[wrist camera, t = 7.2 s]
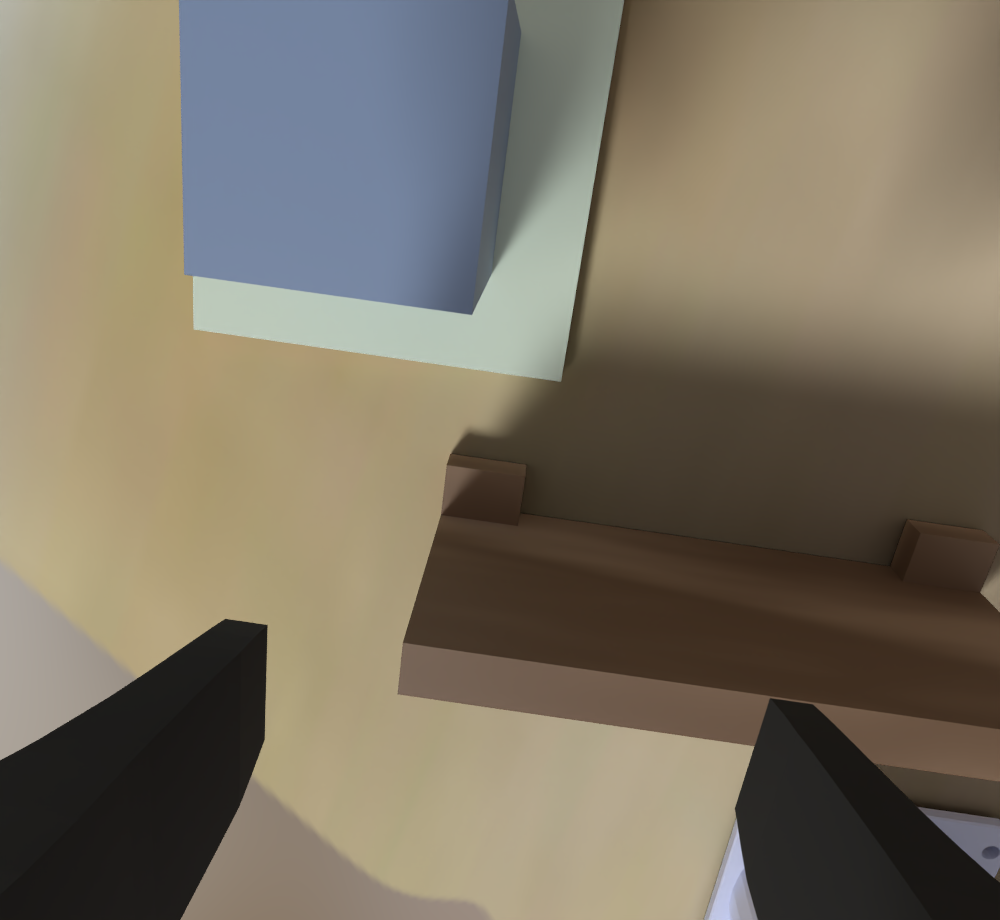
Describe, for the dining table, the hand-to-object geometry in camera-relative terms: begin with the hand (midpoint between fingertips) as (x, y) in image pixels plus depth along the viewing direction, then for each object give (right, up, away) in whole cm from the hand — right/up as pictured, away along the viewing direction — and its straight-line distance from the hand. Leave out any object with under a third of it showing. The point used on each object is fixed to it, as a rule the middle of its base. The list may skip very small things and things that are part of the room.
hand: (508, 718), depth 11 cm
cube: (-2, +11, +6) cm, 12 cm away
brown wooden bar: (+5, +1, +10) cm, 11 cm away
